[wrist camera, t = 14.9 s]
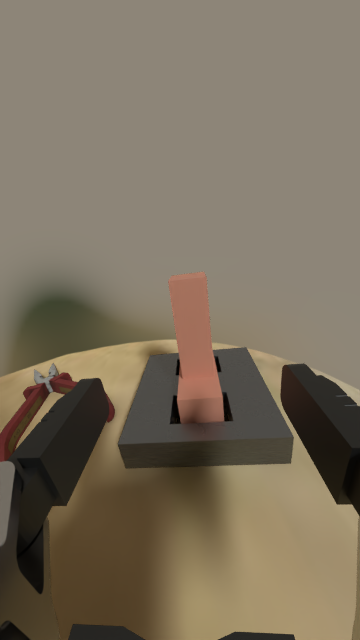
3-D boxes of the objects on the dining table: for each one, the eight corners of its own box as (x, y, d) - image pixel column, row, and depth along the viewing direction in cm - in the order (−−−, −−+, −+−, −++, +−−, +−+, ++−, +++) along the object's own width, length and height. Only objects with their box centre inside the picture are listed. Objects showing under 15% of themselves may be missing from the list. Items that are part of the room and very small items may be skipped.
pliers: (80, 359, 39) (76, 347, 38) (121, 419, 23) (115, 402, 22) (6, 389, 32) (-1, 375, 31) (-4, 499, 17) (-19, 479, 16)
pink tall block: (183, 440, 19) (158, 289, 14) (185, 380, 28) (170, 272, 22) (225, 438, 19) (215, 282, 14) (214, 378, 27) (205, 267, 22)
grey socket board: (125, 468, 18) (117, 444, 16) (153, 372, 31) (150, 355, 29) (290, 463, 16) (293, 436, 15) (246, 365, 29) (246, 347, 28)
